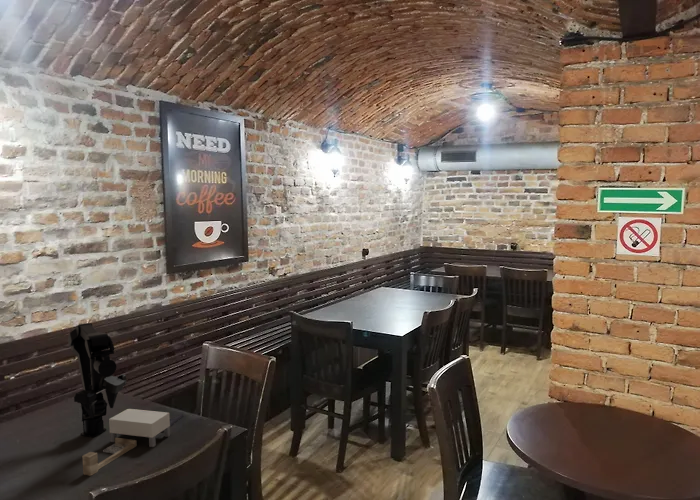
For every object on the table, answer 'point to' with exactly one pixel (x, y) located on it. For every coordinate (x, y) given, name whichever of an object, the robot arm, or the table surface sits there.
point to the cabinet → (140, 424)
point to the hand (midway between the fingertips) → (102, 412)
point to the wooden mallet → (92, 459)
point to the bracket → (175, 420)
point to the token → (115, 448)
